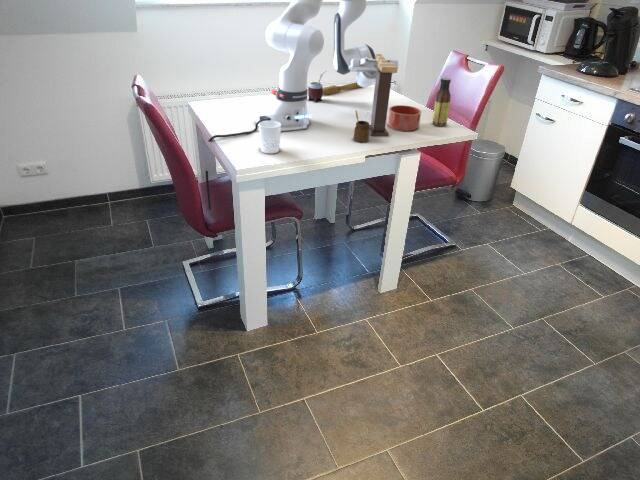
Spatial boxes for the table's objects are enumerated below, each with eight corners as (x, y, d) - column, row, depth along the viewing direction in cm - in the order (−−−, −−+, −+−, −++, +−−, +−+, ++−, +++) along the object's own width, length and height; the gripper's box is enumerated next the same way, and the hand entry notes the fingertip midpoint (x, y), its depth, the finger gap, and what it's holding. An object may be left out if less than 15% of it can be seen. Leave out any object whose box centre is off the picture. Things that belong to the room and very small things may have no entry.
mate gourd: (307, 98, 237) (308, 66, 229) (323, 98, 238) (324, 66, 230) (308, 102, 231) (309, 70, 223) (324, 103, 232) (326, 70, 224)
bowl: (402, 133, 202) (404, 117, 198) (381, 123, 211) (382, 107, 207) (425, 128, 209) (427, 112, 205) (403, 119, 218) (405, 103, 214)
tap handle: (363, 82, 256) (321, 90, 239) (363, 87, 258) (321, 96, 241) (359, 80, 258) (317, 88, 241) (359, 86, 260) (317, 94, 242)
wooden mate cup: (370, 142, 192) (374, 112, 185) (355, 143, 190) (358, 113, 184) (365, 136, 196) (368, 107, 190) (350, 137, 195) (353, 108, 188)
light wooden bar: (370, 58, 200) (371, 53, 198) (384, 59, 200) (385, 54, 199) (381, 72, 181) (382, 66, 180) (397, 72, 182) (397, 67, 181)
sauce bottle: (447, 123, 215) (456, 78, 204) (444, 127, 210) (453, 81, 200) (433, 121, 217) (441, 75, 207) (429, 125, 212) (437, 78, 202)
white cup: (255, 151, 178) (255, 125, 172) (265, 144, 184) (264, 119, 178) (275, 155, 175) (275, 129, 170) (284, 148, 182) (284, 122, 176)
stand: (366, 127, 206) (373, 63, 192) (382, 127, 207) (390, 64, 193) (371, 135, 198) (378, 70, 184) (387, 136, 198) (396, 70, 184)
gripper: (347, 61, 212) (352, 51, 198) (393, 63, 214) (401, 52, 200) (347, 76, 212) (352, 66, 198) (393, 77, 214) (401, 68, 201)
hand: (377, 59), depth 199 cm, fingers open, 8 cm apart
